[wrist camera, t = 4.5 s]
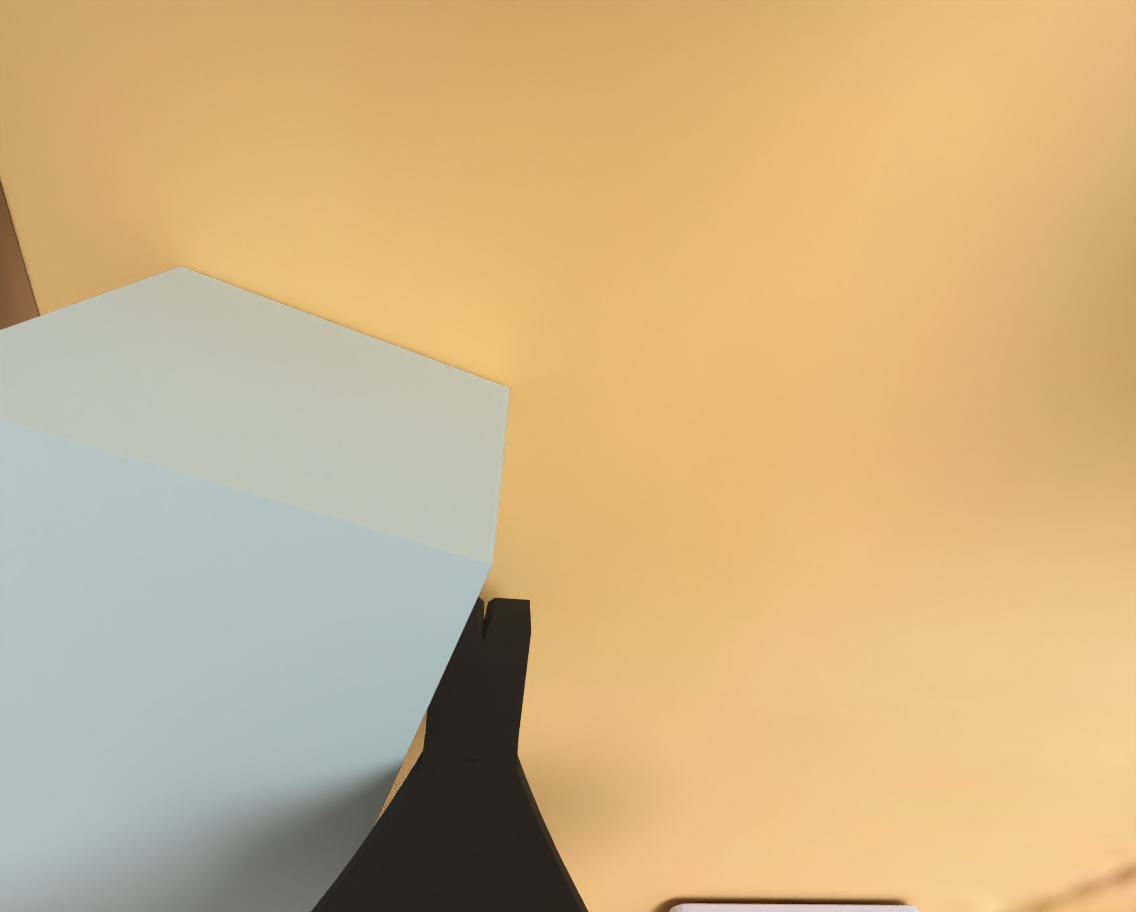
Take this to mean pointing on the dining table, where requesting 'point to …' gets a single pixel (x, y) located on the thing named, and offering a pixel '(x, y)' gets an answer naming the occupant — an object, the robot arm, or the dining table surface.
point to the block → (222, 591)
